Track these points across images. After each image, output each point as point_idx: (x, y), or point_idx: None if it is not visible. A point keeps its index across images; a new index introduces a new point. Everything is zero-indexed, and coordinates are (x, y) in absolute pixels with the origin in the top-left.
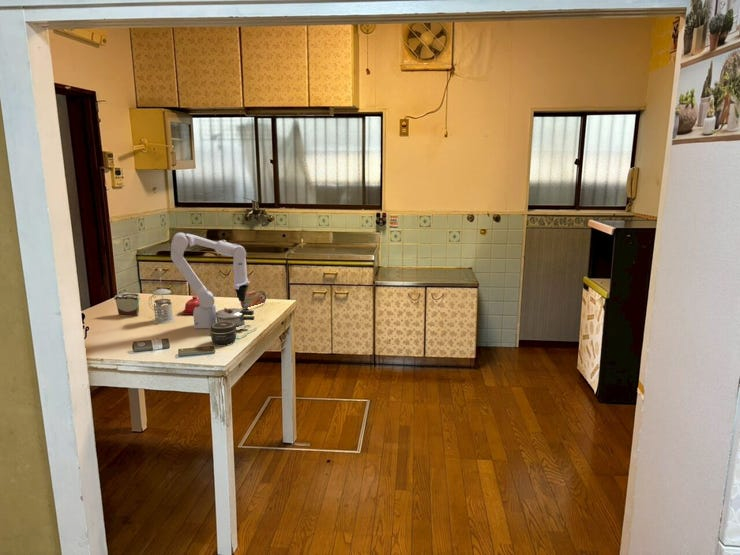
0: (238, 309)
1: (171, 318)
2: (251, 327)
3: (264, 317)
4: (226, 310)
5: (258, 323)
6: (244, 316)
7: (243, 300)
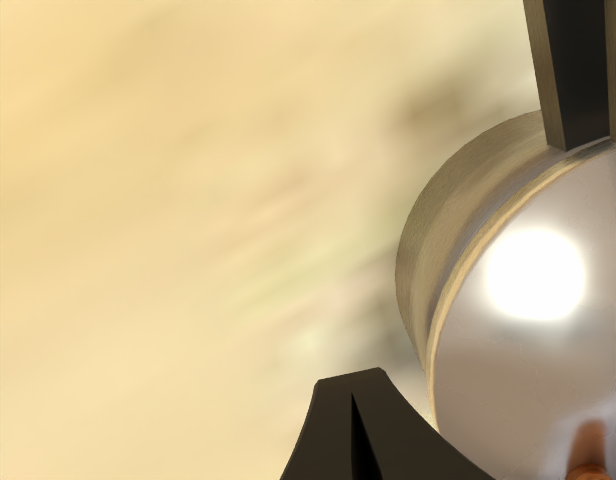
0: (486, 333)
1: None
2: (488, 31)
3: (25, 81)
4: (597, 466)
5: (303, 24)
6: (583, 136)
7: (386, 379)
